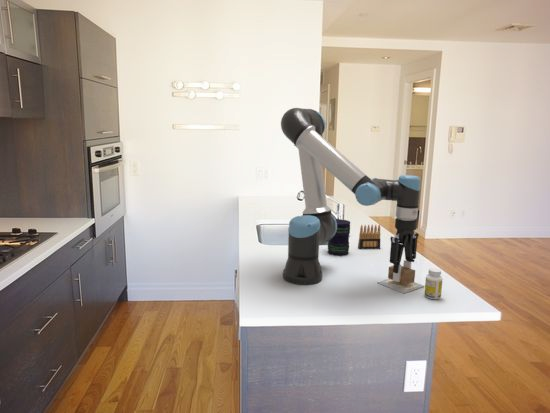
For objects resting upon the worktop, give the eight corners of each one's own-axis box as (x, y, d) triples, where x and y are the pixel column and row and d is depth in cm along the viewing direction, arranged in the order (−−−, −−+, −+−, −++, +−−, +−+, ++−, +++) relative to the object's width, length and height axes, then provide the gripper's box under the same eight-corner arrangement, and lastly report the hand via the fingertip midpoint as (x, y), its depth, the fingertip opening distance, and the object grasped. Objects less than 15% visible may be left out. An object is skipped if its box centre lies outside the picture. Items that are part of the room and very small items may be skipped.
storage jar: (348, 256, 187) (350, 224, 184) (326, 255, 189) (328, 223, 186) (349, 250, 197) (350, 219, 194) (328, 249, 198) (329, 218, 196)
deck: (387, 278, 156) (388, 266, 155) (396, 275, 159) (397, 264, 158) (405, 284, 149) (406, 273, 149) (414, 282, 152) (415, 270, 151)
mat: (404, 293, 146) (404, 292, 146) (377, 283, 156) (377, 281, 155) (424, 286, 153) (424, 285, 153) (397, 277, 163) (397, 275, 162)
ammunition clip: (359, 249, 199) (360, 225, 197) (357, 248, 201) (359, 224, 199) (380, 248, 201) (382, 224, 198) (378, 247, 202) (380, 223, 200)
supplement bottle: (436, 293, 147) (439, 267, 145) (443, 299, 142) (446, 272, 140) (421, 293, 147) (424, 267, 145) (427, 299, 141) (430, 272, 139)
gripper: (399, 223, 141) (394, 287, 146) (430, 217, 152) (424, 277, 156) (381, 219, 147) (377, 281, 152) (412, 213, 158) (407, 272, 162)
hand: (401, 279), depth 154 cm, fingers closed on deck, 5 cm apart
